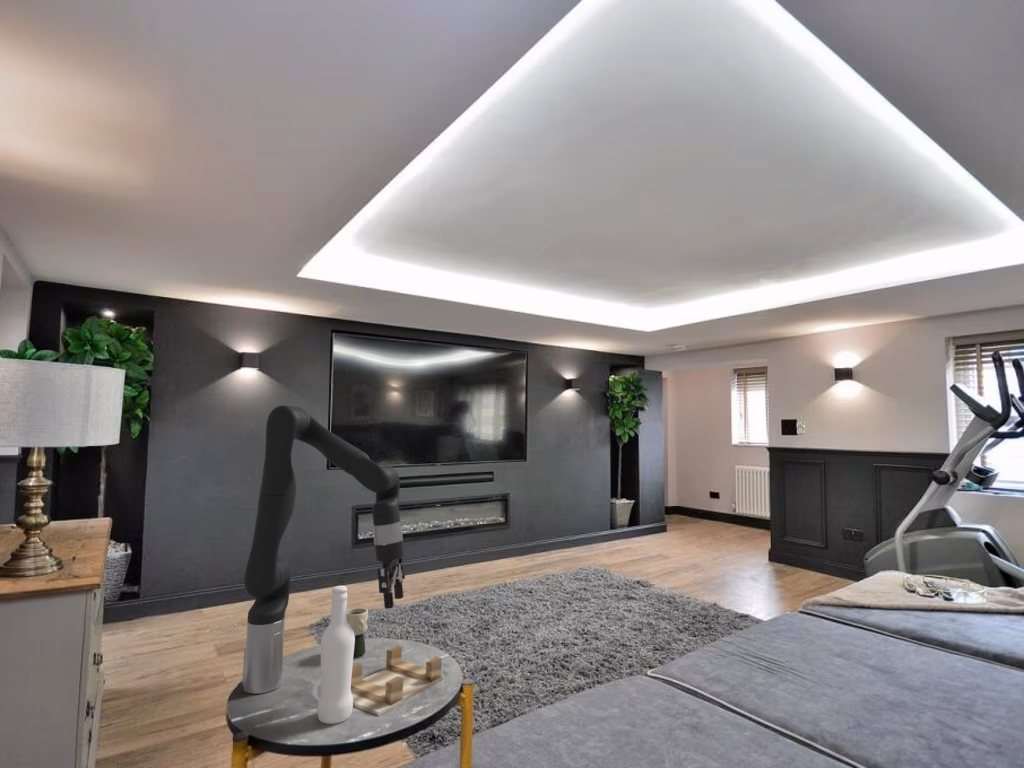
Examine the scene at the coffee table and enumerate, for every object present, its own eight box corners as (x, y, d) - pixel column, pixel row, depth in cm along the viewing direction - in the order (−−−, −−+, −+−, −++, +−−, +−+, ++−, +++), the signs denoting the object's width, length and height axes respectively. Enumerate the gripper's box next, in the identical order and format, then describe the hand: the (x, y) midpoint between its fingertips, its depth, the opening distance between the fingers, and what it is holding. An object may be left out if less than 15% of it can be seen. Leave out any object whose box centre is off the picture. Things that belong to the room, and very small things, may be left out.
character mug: (373, 657, 162) (374, 613, 164) (350, 663, 158) (352, 617, 159) (358, 646, 171) (360, 604, 172) (336, 652, 166) (338, 608, 168)
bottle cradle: (331, 697, 137) (332, 673, 138) (398, 664, 157) (399, 644, 158) (378, 715, 128) (379, 690, 129) (443, 678, 148) (443, 656, 149)
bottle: (341, 727, 123) (346, 592, 126) (310, 723, 124) (315, 590, 128) (358, 710, 131) (363, 583, 134) (328, 706, 132) (333, 581, 136)
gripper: (383, 537, 151) (389, 597, 149) (365, 547, 137) (371, 613, 135) (409, 534, 150) (415, 594, 148) (393, 544, 136) (400, 610, 134)
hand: (394, 603), depth 141 cm, fingers open, 8 cm apart
